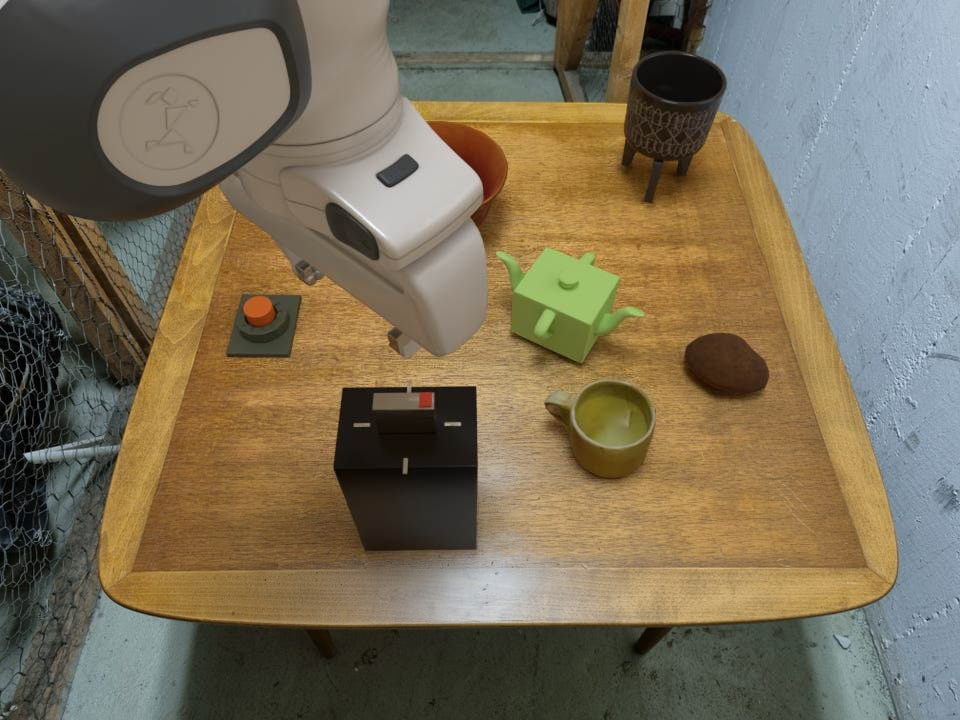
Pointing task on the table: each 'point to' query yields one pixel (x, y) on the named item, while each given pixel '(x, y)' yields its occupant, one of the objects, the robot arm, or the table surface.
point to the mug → (606, 425)
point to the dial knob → (405, 412)
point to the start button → (259, 311)
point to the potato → (727, 363)
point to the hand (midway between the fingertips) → (357, 310)
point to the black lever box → (410, 473)
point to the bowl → (476, 159)
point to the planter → (670, 110)
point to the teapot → (564, 302)
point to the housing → (265, 329)
